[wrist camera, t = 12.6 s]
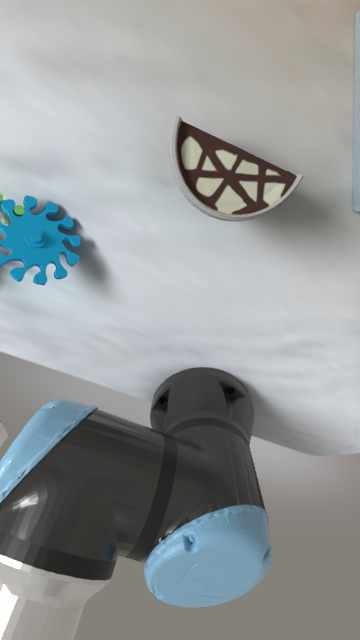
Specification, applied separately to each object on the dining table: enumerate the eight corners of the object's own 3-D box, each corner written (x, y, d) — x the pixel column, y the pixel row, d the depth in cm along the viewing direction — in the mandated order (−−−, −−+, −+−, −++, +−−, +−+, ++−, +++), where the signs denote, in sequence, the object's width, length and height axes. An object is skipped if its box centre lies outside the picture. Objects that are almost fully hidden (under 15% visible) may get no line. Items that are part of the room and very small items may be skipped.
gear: (100, 254, 39) (25, 299, 34) (86, 268, 44) (19, 310, 39) (40, 171, 37) (-49, 206, 32) (33, 196, 42) (-45, 230, 37)
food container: (155, 186, 37) (145, 190, 28) (176, 129, 35) (172, 112, 26) (252, 229, 39) (272, 245, 30) (278, 177, 37) (308, 178, 28)
